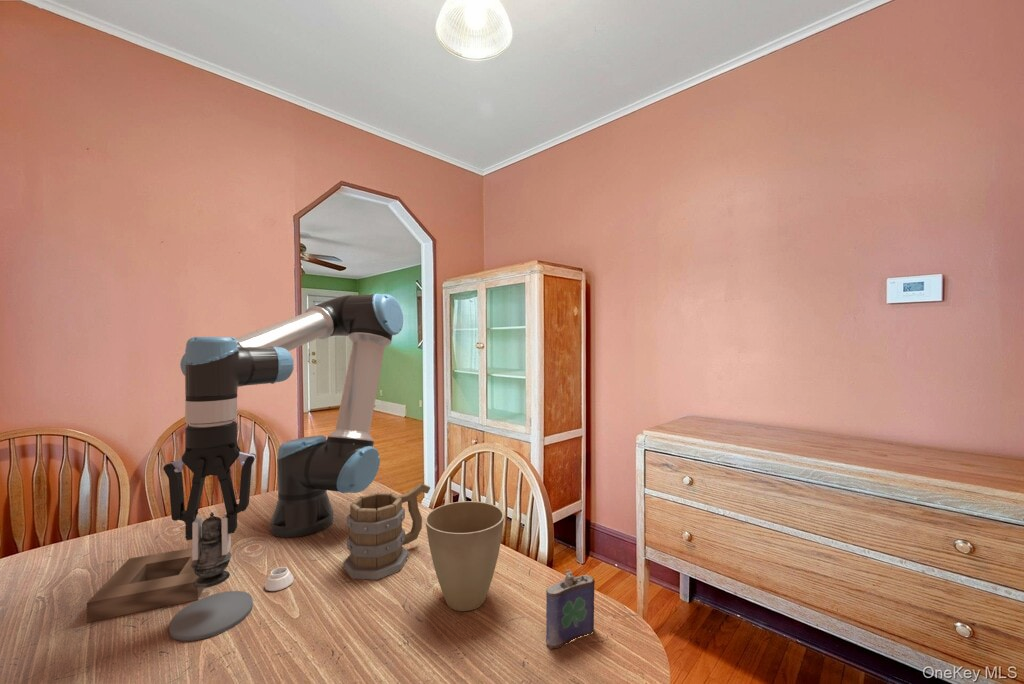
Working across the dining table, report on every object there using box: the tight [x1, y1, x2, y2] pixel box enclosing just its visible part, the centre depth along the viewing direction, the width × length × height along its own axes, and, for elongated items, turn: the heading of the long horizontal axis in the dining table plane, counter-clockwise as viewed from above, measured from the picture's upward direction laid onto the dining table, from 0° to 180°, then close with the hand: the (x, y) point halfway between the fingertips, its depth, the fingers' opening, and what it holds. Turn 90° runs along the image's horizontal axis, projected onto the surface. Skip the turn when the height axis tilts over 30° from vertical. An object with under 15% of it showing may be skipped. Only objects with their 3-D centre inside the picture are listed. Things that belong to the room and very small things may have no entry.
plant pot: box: [424, 500, 505, 612], centre depth 78 cm, size 15×15×16 cm
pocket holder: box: [86, 547, 205, 623], centre depth 83 cm, size 16×16×4 cm
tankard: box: [342, 482, 431, 581], centre depth 93 cm, size 20×13×15 cm, turn 131°
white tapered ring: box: [264, 566, 294, 592], centre depth 83 cm, size 5×3×5 cm
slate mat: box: [168, 590, 254, 642], centre depth 73 cm, size 12×12×1 cm
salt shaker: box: [191, 512, 233, 589], centre depth 73 cm, size 6×6×12 cm
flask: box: [545, 569, 596, 650], centre depth 68 cm, size 9×3×11 cm, turn 117°
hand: (212, 553), depth 73 cm, fingers closed on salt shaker, 3 cm apart
